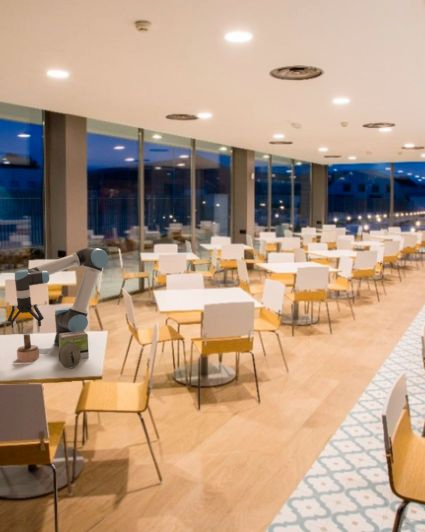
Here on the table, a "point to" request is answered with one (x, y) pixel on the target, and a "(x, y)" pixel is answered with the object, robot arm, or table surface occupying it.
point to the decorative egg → (69, 355)
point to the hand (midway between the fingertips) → (27, 332)
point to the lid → (27, 345)
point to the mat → (44, 351)
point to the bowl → (28, 355)
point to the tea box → (76, 341)
